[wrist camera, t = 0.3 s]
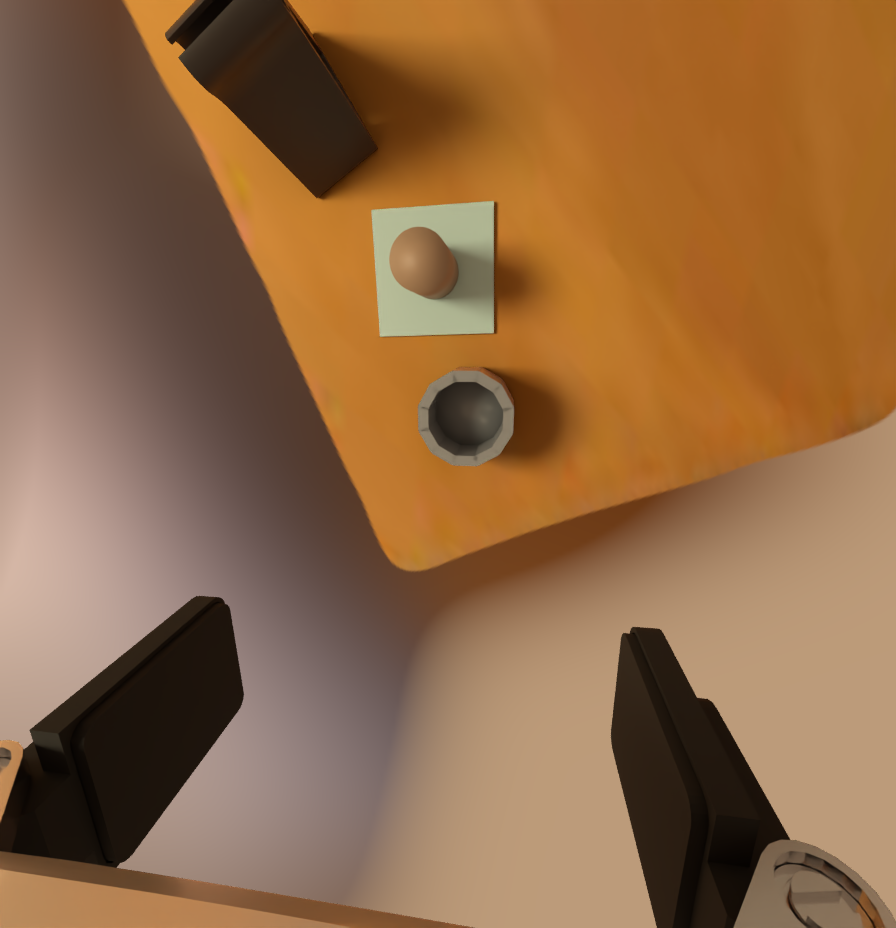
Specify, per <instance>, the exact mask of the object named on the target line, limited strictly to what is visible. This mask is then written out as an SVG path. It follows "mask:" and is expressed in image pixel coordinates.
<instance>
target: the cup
mask: <svg viewBox="0 0 896 928" xmlns="http://www.w3.org/2000/svg"><path fill="white" fill-rule="evenodd" d="M513 425H514V399H513V397H512V395H511V394H510V392H509V390H508V388H507V386H506V384H505V383H504V381H503V380H502V378H500V377H498V376H497V375H495V374H493V373H492V372H490V371H488V370H487V369H485V368H483V367H458V368H456V369H455V370H453V371H451V372H449V373H448V374H446V375H444V376H443V377H441V378H439V379H438V380H436V381H434V382H433V383H431V384H430V385H429V387H428V389H427V390H426V392H425V394H424V396H423V398H422V400H421V401H420V403H419V405H418V431H419V433H420V435H421V436H422V438H423V440H424V441H425V443H426V445H427V446H428V448H429V450H430V451H431V452H432V453H433V454H434V455H436V456H438V457H439V458H441V459H443V460H444V461H446V462H448V463H450V464H451V465H458V466H477V465H478V466H479V465H481V464H483V463H485V462H486V461H488V460H490V459H492V458H494V457H496V456H498V455H499V454H500V453H501V452H502V450H503V449H504V447H505V445H506V444H507V442H508V441H509V439H510V438H511V436H512V435H513Z"/></svg>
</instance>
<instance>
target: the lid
mask: <svg viewBox="0 0 896 928" xmlns="http://www.w3.org/2000/svg"><path fill="white" fill-rule="evenodd" d="M372 225H373V240H374V255H375V270H376V284H377V299H378V314H379V329H380V337H385V336H417V335H449V334H481V333H494V201H488V202H474V203H460V204H446V205H433V206H419V207H405V208H392V209H378V210H372Z"/></svg>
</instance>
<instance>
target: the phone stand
mask: <svg viewBox="0 0 896 928" xmlns="http://www.w3.org/2000/svg"><path fill="white" fill-rule="evenodd" d="M165 36H166V38H167V40H168V41H169V42H170V43H171V44H173V43H174V42H175V41H176V42H177V43H179V44H180V45H181V46H182V47H183V48H184V49H185V51H184V52H183V53H182V54H181V55H180V56H179V57H178V58H179V59H180V60H181V62H182V63H183V64H184V66H185V67H186V68H187V69H188V71H189V72H190V73H191V74H192V75H193V77H194V78H195V79H196V80H197V81H198V82H199V83H200V84H201V85H202V86H203V87H204V88H205V89H206V90H207V91H208V92H210V93H211V94H212V95H214V96H215V97H217V98H218V99H219V100H220V101H222V102H223V103H224V104H225V105H226V106H227V107H228V108H229V109H230V110H231V111H232V112H233V113H234V114H235V115H236V116H237V117H238V118H239V119H240V120H241V121H242V122H243V123H244V124H245V125H246V126H247V127H248V128H249V129H250V130H251V131H252V132H253V133H254V134H255V135H256V136H257V137H258V138H259V140H260V141H261V142H262V143H263V144H264V145H265V146H266V147H267V148H268V149H269V150H270V151H271V152H272V153H273V154H274V155H275V156H276V157H277V158H278V159H279V160H280V161H281V162H282V163H283V164H284V165H285V166H286V167H287V168H288V169H289V170H290V171H291V172H292V173H293V174H294V175H295V176H296V177H297V178H298V179H299V180H300V181H301V182H302V183H303V184H304V185H305V187H306V188H307V189H308V190H309V191H310V192H311V193H312V194H313V195H314V196H315V197H316V198H318V197H319V196H321V195H322V194H323V193H324V192H326V191H327V190H328V189H329V188H330V187H332V186H333V185H334V184H335V183H336V182H338V181H339V180H340V179H341V178H342V177H344V176H345V175H346V174H347V173H349V172H350V171H351V170H352V169H353V168H355V167H356V166H357V165H358V164H359V163H361V162H362V161H363V160H364V159H366V158H367V157H368V156H369V155H370V154H372V153H373V152H374V151H375V150H376V149H378V148H377V146H376V144H375V143H374V141H373V139H372V137H371V136H370V134H369V132H368V131H367V129H366V127H365V125H364V124H363V122H362V120H361V118H360V117H359V115H358V113H357V111H356V110H355V108H354V106H353V104H352V103H351V101H350V99H349V98H348V96H347V94H346V93H345V91H344V89H343V87H342V85H341V84H340V82H339V80H338V78H337V77H336V75H335V73H334V71H333V70H332V68H331V66H330V65H329V63H328V61H327V59H326V58H325V56H324V54H323V52H322V51H321V49H320V47H319V45H318V44H317V42H316V40H315V38H314V37H313V35H312V33H311V32H310V30H309V29H308V27H307V26H306V24H305V23H304V22H303V20H302V19H301V18H300V16H299V15H298V14H297V12H296V11H295V10H294V8H293V7H292V6H291V4H290V3H289V2H288V0H196V1H195V2H194V3H193V4H192V5H191V6H190V7H189V8H188V9H187V10H186V11H185V12H184V13H183V15H182V16H181V17H180V18H179V19H178V20H177V21H176V22H175V23H174V24H173V25H172V26H171V27H170V29H169V30H168V31H167V32H166V33H165Z"/></svg>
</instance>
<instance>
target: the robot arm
mask: <svg viewBox="0 0 896 928" xmlns="http://www.w3.org/2000/svg"><path fill="white" fill-rule="evenodd" d="M243 696H244V692H243V686H242V680H241V673H240V667H239V661H238V655H237V649H236V643H235V637H234V631H233V625H232V619H231V613H230V608H229V606H228V605H226V604H225V603H224V601H223V599H222V598H219V597H206V596H196V597H194V598H193V599H191V600H190V601H189V602H187V603H186V604H185V605H184V606H183V607H181V608H180V609H179V610H178V611H176V612H175V613H174V614H173V615H171V616H170V617H169V618H168V619H166V620H165V621H164V622H163V623H162V624H160V625H159V626H158V627H157V628H155V629H154V630H153V631H152V632H150V633H149V634H148V635H147V636H145V637H144V638H143V639H142V640H141V641H139V642H138V643H137V644H136V645H134V646H133V647H132V648H131V649H129V650H128V651H127V652H126V653H124V654H123V655H122V656H121V657H119V658H118V659H117V660H116V661H114V662H113V663H112V664H111V665H109V666H108V667H107V668H106V669H105V670H103V671H102V672H101V673H100V674H98V675H97V676H96V677H95V678H93V679H92V680H91V681H90V682H88V683H87V684H86V685H85V686H83V687H82V688H81V689H80V690H79V691H77V692H76V693H75V694H74V695H72V696H71V697H70V698H69V699H68V700H66V701H65V702H64V703H62V704H61V705H60V706H59V707H58V708H56V709H55V710H54V711H53V712H51V713H50V714H49V715H48V716H47V717H45V718H44V719H43V720H42V721H40V722H39V723H38V724H37V725H35V726H34V727H33V728H32V729H30V733H31V736H32V739H33V743H31V744H30V745H29V746H28V747H27V748H25V749H23V747H22V746H21V745H20V744H19V742H15V741H11V740H3V741H0V928H473V927H468V926H462V925H456V924H450V923H445V922H439V921H433V920H427V919H422V918H415V917H410V916H404V915H398V914H393V913H387V912H381V911H375V910H370V909H364V908H358V907H352V906H346V905H340V904H334V903H328V902H322V901H316V900H310V899H304V898H298V897H292V896H286V895H280V894H274V893H268V892H262V891H255V890H250V889H244V888H238V887H232V886H226V885H219V884H214V883H208V882H202V881H196V880H189V879H183V878H176V877H170V876H163V875H158V874H152V873H145V872H139V871H132V870H126V869H119V868H117V866H118V865H119V864H120V863H122V862H124V861H126V860H127V859H128V858H129V857H130V856H131V855H132V854H133V853H134V852H135V850H136V849H137V847H138V846H139V845H140V843H141V842H142V840H143V839H144V838H145V837H146V835H147V834H148V832H149V831H150V830H151V828H152V827H153V826H154V824H155V823H156V822H157V820H158V819H159V818H160V816H161V815H162V813H163V812H164V811H165V809H166V808H167V807H168V805H169V804H170V803H171V801H172V800H173V798H174V797H175V796H176V795H177V793H178V792H179V790H180V789H181V788H182V786H183V785H184V783H185V782H186V781H187V779H188V778H189V777H190V776H191V774H192V773H193V772H194V770H195V769H196V767H197V766H198V765H199V763H200V762H201V761H202V759H203V758H204V757H205V755H206V754H207V753H208V751H209V750H210V748H211V747H212V746H213V744H214V743H215V742H216V740H217V739H218V738H219V736H220V735H221V734H222V732H223V731H224V729H225V728H226V727H227V725H228V724H229V723H230V721H231V720H232V719H233V717H234V716H235V714H236V713H237V712H238V710H239V709H240V707H241V705H242V701H243ZM611 742H612V749H613V753H614V757H615V761H616V765H617V769H618V773H619V777H620V781H621V785H622V789H623V793H624V797H625V801H626V805H627V809H628V813H629V817H630V821H631V825H632V829H633V833H634V837H635V841H636V845H637V849H638V853H639V857H640V861H641V865H642V869H643V873H644V877H645V881H646V885H647V889H648V893H649V897H650V901H651V905H652V909H653V913H654V917H655V921H656V926H657V928H896V921H895V919H894V917H893V915H892V913H891V912H890V910H889V909H888V908H887V906H886V905H885V903H884V902H883V901H882V899H881V898H880V897H879V895H878V894H877V892H875V890H874V889H873V888H871V886H869V884H868V883H867V882H866V881H865V880H863V879H862V877H860V875H859V874H858V873H856V872H855V871H854V870H852V869H851V868H850V867H848V866H847V865H846V864H844V863H843V862H842V861H840V860H839V859H838V858H836V857H835V856H833V855H831V854H829V853H827V852H825V851H823V850H821V849H820V848H818V847H816V846H813V845H810V844H807V843H803V842H800V841H797V840H790V838H789V837H788V835H787V833H786V831H785V830H784V828H783V826H782V824H781V822H780V820H779V819H778V817H777V815H776V814H775V812H774V810H773V808H772V806H771V804H770V803H769V801H768V799H767V797H766V796H765V794H764V792H763V790H762V788H761V787H760V785H759V783H758V781H757V780H756V778H755V776H754V774H753V772H752V771H751V769H750V767H749V765H748V763H747V762H746V760H745V758H744V756H743V755H742V753H741V751H740V749H739V747H738V746H737V744H736V742H735V740H734V738H733V737H732V735H731V733H730V731H729V730H728V728H727V726H726V724H725V723H724V721H723V719H722V717H721V716H720V714H719V712H718V710H717V708H716V707H715V706H714V704H713V703H712V702H711V701H710V700H708V699H702V698H697V697H696V695H695V693H694V691H693V689H692V687H691V686H690V684H689V682H688V680H687V678H686V676H685V674H684V672H683V670H682V668H681V667H680V665H679V663H678V661H677V659H676V657H675V656H674V653H673V651H672V649H671V647H670V645H669V644H668V642H667V640H666V638H665V636H664V634H663V633H662V631H661V630H660V629H655V628H640V627H632V628H631V631H630V634H627V633H623V634H622V637H621V645H620V654H619V663H618V673H617V682H616V692H615V700H614V710H613V718H612V728H611Z"/></svg>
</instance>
